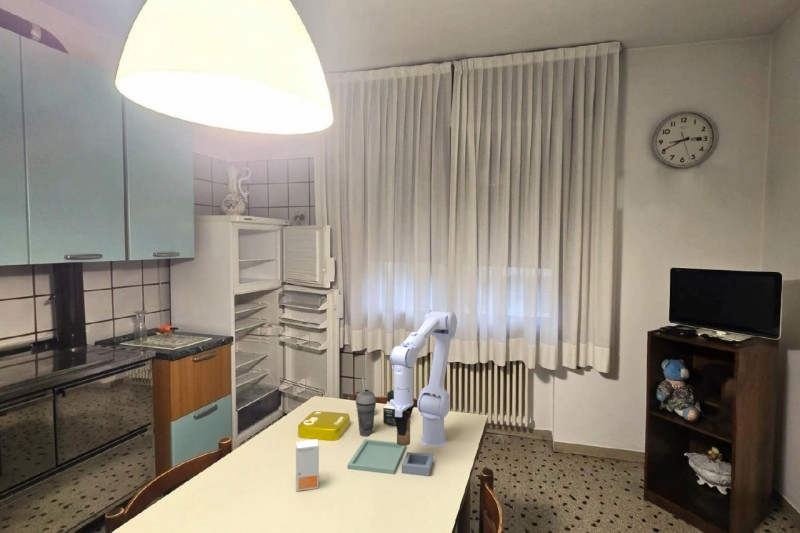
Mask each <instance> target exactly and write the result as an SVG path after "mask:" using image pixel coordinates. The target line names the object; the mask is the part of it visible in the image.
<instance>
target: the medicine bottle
mask: <svg viewBox="0 0 800 533" xmlns="http://www.w3.org/2000/svg"><path fill="white" fill-rule="evenodd" d="M391 399H394V389H393V390H390V391H388V392H387V393H386V404H385V405H384V406H383V409H382V410H383V416H382V417H383V420H382V422H383V424H382V425H383V427H390V428H396V424H395V421H394V419H393V417H392V414H391V412H392V411H393V410H395V408H394V405H393V404H390V400H391Z"/></svg>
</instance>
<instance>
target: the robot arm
mask: <svg viewBox="0 0 800 533" xmlns="http://www.w3.org/2000/svg"><path fill="white" fill-rule="evenodd" d="M423 320H424V321H423V323H422V324H421V326H420V327H419V328H418V329H417V331H411V333H410V334H409V335H408V336H407V337H406V338H405V340H404V341H403V342H402V343H401V344H400V345H396V346H394V347H393V348H392V350H391V352H390V355H389V362H390V365H391V370H392V371H393V390H394V399H391V400H390V404H393V405H394V408H395V410H393V411H392V412H391V414H392V417H393V419H394V421H395V424H396V427H395V428H396V433H397V432H398V435H401V436H405V434H406V430H407V423H408V419H409V417H410V419H411V418H412V413H413V410H414V407H415V406H416V407H417V410H418V412H420V416H422V436H421V437H422V438H421V439H420V443H419V444H420V445H424V446H434V447H442V448H443V447H445V443H446V440H447V436H448V435H447V434H446V433H445V418H446V417H447V416H448V414H449V412H450V408H451V406H450V405H451V404H450V399H451V398H450V397H451V395H450V393H449V392H448V391H447V390H446V389H445V387H444V384H445V378H446V372H447V366H448V359H449V353H450V346H451V340H452V339H453V338H455V335H456V332H457V326H458V320H457V316H456V313H455V312H453V311H449V312H448V311H441V310H440V311H438V310H437V311H436V310H427V312H426V314H424V319H423ZM431 335H432V336H434V338H435V345H434V351H433V352H434V353H433V357H432V363H431V368H430V376H429V379H428V380H429V381H428V384H427V385H426V386H425V387H423V388H421V390H420V392H419V393H420V394H419V396H418V398H417V402H416V403H417V404H415V403H414V366H415V365H416V364H417V359H418V358H419V353H420V352H421V351H422V349H423V348H424V347H425V346H426V344H427V340H426V339H427V338H428V337H430V336H431ZM435 395H436V396H435ZM405 411H409V412H410V413H407V412H405Z"/></svg>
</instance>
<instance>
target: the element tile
mask: <svg viewBox="0 0 800 533" xmlns="http://www.w3.org/2000/svg"><path fill="white" fill-rule="evenodd" d="M350 416H351V415H350V414H349V413H346V412H335V411H333V412H332V411H331V412H330V411H321V410H319V411H318V410H313V411H312V412H311V413H310V414H308V415H307V416H306V417H305V418H304V419H303V420H301V422H300V423H298V426H297V436H298V438H300V439H304V440H305V439H306V440H316V439H318V441H327V442H330V441H331V442H336V441H338V440H340V439H341V437H342V436H343V434H345V432H347V430H348V429H349V427H350V425H351V424H350Z"/></svg>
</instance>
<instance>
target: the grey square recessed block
mask: <svg viewBox="0 0 800 533" xmlns="http://www.w3.org/2000/svg"><path fill="white" fill-rule="evenodd" d="M433 465H434V454H433V453H432V454H430V453H423V452H422V453H421V452H412V451H411V452H410V451H407V452H406V454H405V456H404V458H403V461H402V463H401V474H404V475H413V476H420V477H421V476H422V477H430V476H431V472H432V468H433Z"/></svg>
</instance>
